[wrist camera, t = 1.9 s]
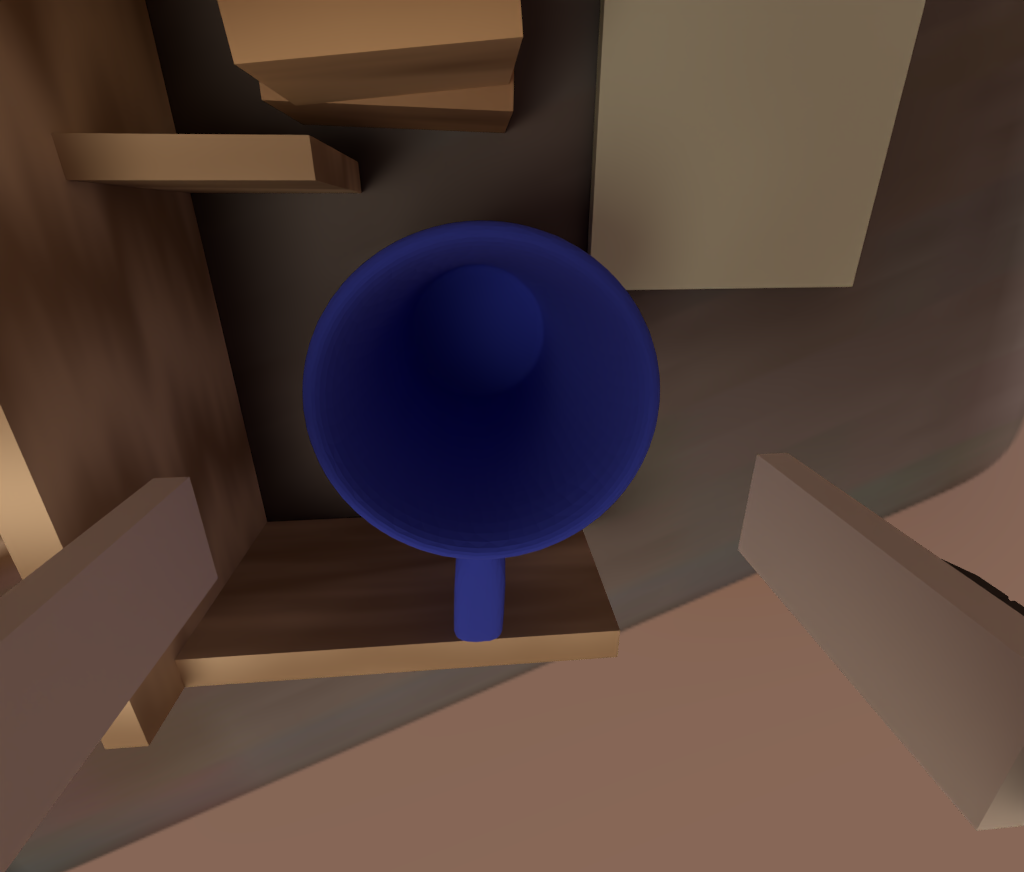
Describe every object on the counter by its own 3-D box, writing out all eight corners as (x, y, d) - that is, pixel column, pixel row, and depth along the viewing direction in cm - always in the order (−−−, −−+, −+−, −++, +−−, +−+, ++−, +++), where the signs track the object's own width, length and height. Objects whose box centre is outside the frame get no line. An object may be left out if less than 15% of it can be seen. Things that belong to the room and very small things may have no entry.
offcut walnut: (277, -105, 15) (216, -210, 11) (507, -87, 16) (519, -181, 12) (304, 125, 17) (261, 100, 14) (504, 133, 18) (513, 111, 14)
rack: (36, -264, 13) (-917, -1338, 4) (612, -228, 14) (862, -1005, 5) (246, 544, 24) (105, 749, 14) (572, 528, 25) (634, 707, 16)
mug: (386, 497, 23) (333, 676, 14) (370, 215, 19) (275, 209, 9) (559, 497, 24) (616, 667, 15) (586, 227, 19) (693, 231, 10)
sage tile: (603, -70, 16) (608, -80, 15) (927, -57, 17) (942, -66, 16) (585, 288, 20) (588, 290, 20) (842, 284, 21) (852, 286, 20)
